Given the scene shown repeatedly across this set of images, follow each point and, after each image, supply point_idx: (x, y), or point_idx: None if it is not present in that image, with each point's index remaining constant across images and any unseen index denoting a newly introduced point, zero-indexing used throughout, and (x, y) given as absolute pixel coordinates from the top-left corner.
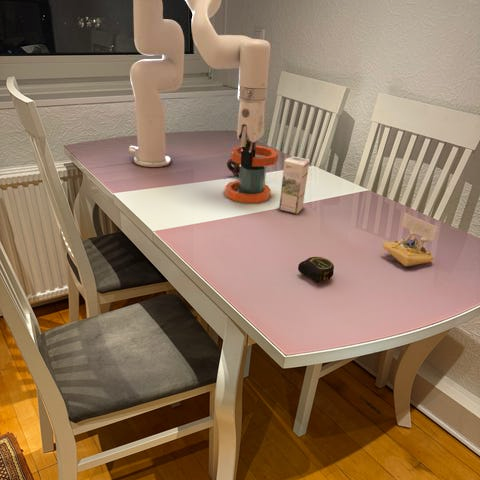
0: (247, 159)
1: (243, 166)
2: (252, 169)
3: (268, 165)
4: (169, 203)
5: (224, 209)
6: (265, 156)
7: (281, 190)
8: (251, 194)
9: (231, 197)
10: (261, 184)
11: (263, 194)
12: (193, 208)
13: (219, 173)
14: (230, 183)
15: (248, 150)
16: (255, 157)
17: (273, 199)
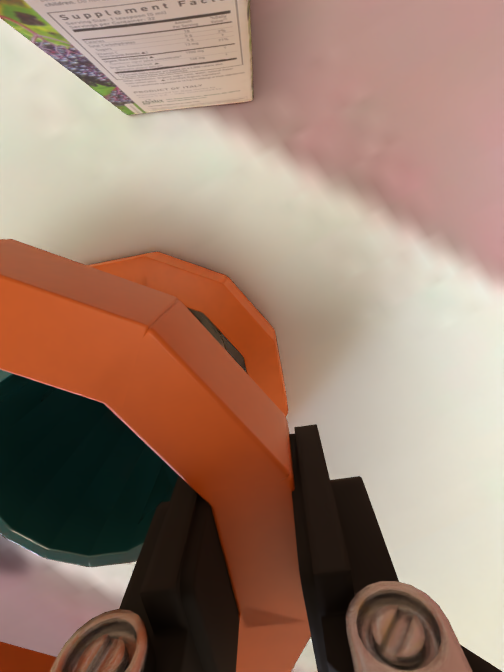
0: (372, 520)
1: (90, 533)
2: (27, 469)
3: (116, 276)
4: (495, 594)
5: (429, 377)
6: (47, 383)
7: (249, 39)
8: (233, 330)
9: None
10: None
11: (178, 268)
12: (498, 496)
13: (8, 612)
14: None
15: (474, 662)
16: (218, 475)
17: (110, 224)
